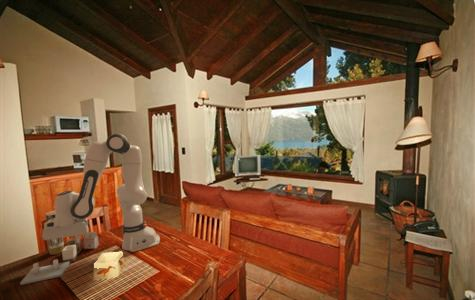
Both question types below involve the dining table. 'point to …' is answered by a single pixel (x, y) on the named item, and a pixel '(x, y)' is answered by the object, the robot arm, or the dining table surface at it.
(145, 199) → the robot arm
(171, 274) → the dining table surface
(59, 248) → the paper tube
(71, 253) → the sleeve
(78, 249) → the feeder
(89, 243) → the grey box
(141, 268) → the dining table surface
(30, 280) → the pinboard
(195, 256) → the dining table surface
